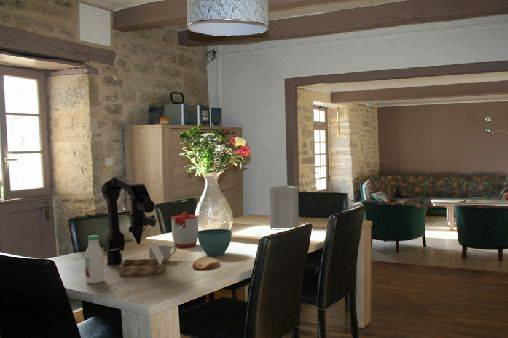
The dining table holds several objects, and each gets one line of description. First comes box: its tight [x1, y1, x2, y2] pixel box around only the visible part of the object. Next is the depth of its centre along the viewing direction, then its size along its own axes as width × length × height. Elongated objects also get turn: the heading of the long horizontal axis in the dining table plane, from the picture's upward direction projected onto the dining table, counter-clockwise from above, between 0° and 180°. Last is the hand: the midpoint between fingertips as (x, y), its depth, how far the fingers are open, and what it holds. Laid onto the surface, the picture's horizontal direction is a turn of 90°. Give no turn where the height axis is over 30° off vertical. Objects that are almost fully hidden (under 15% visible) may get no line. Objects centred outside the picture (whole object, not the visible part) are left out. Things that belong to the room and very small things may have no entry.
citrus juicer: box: [170, 211, 199, 249], centre depth 308 cm, size 16×17×20 cm
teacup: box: [148, 244, 177, 263], centre depth 270 cm, size 14×11×8 cm
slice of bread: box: [191, 256, 220, 272], centre depth 260 cm, size 18×18×4 cm
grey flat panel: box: [150, 240, 164, 265], centre depth 251 cm, size 9×15×1 cm
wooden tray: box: [118, 258, 164, 277], centre depth 251 cm, size 18×16×4 cm
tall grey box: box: [268, 185, 300, 230], centre depth 366 cm, size 19×15×28 cm
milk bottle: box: [84, 234, 105, 284], centre depth 233 cm, size 8×8×20 cm
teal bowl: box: [197, 228, 233, 257], centre depth 284 cm, size 18×18×12 cm
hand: (139, 244), depth 250 cm, fingers closed
